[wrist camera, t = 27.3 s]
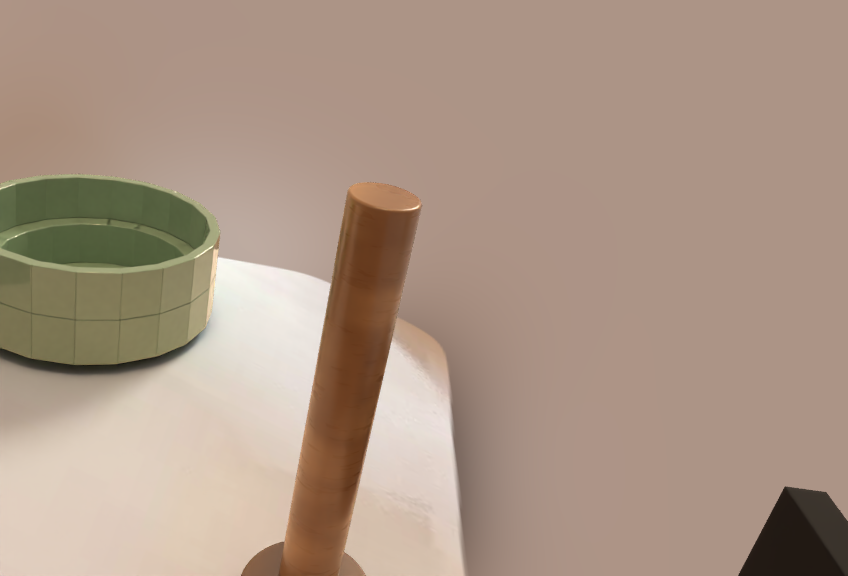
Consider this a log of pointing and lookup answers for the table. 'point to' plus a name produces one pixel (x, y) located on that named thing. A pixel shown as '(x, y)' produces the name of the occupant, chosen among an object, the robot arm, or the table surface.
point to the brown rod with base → (346, 382)
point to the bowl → (102, 268)
